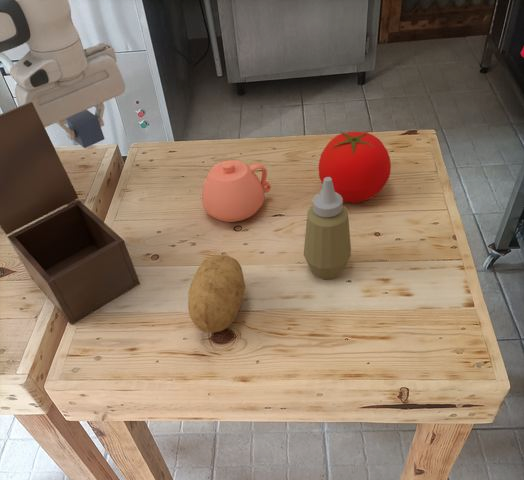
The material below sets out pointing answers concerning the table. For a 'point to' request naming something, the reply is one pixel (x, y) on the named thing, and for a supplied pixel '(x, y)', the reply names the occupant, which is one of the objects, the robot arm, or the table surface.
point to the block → (86, 128)
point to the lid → (29, 170)
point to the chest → (75, 260)
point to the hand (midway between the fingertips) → (86, 131)
